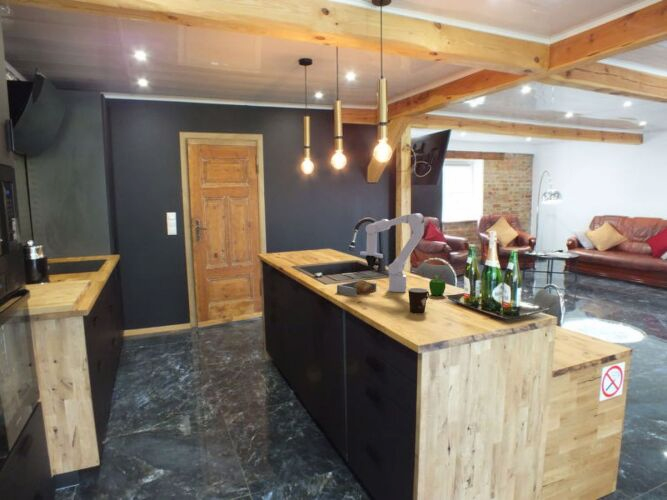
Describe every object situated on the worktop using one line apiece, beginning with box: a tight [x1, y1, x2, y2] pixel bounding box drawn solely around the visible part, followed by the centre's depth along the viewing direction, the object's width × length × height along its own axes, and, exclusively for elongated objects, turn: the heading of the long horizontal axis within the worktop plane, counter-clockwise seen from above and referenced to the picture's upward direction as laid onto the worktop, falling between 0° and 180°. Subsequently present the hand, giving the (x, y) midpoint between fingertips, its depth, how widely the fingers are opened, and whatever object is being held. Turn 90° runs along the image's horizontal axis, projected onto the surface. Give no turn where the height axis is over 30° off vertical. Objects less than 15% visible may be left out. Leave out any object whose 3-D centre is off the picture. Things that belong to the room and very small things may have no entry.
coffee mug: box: [407, 287, 430, 314], centre depth 191 cm, size 12×9×10 cm
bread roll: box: [354, 280, 373, 295], centre depth 229 cm, size 10×10×8 cm
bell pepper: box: [428, 275, 446, 297], centre depth 223 cm, size 8×8×10 cm
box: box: [336, 280, 377, 297], centre depth 229 cm, size 12×18×4 cm, turn 138°
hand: (370, 269), depth 239 cm, fingers closed
